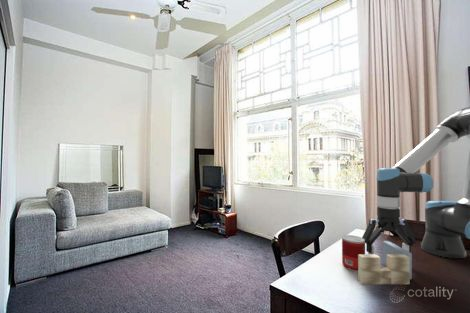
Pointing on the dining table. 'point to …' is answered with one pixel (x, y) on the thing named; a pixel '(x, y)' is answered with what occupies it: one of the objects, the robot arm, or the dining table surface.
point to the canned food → (352, 251)
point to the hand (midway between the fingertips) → (388, 260)
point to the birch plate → (383, 269)
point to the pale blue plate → (395, 252)
